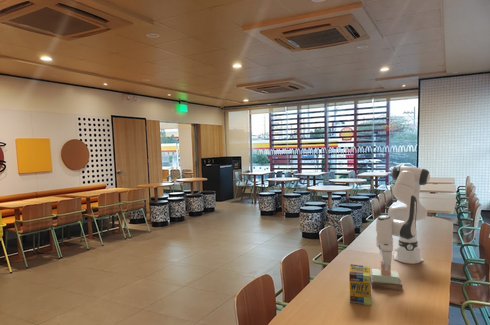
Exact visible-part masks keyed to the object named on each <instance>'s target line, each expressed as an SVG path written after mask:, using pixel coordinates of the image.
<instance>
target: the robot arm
mask: <svg viewBox="0 0 490 325" xmlns="http://www.w3.org/2000/svg"><path fill="white" fill-rule="evenodd" d="M391 177H392V179H393V180H394V181H395V183H394V186H393V189H392V193H393V197H394V198H395V199H396V200H397V201H399V202H401V203H403V204H402V205H401V204H400V205H399V204H398V205H392V206H391V207H389V208H388V210H387V214H382V215H378V216H377V217H376V221H375V222H376V224H375V232H376V237H375V238H376V239H375V242H376V247H377V248H378V249H379V256H380V257H381V261H383V263H384V265H385V270H386V271H388V267H389V265H391V266H392V257H393V260H394V261H398V262H401V263H404V264H410V265H411V264H413V265H414V264H419V263H421V262H422V263H423V262H424V259H423V258H422V255H421V249H420V248H419V242H418V232H417V222H418V221H423V220H425V219H426V218H427V217H428V210H427V208H426V207H425V206H424V205H423V204H422V203H421V202H420V192H421V186H425V185H427V184H428V183H429V182H430V180H431V174H430V171H429V170H428V169H426V168H421V167H417V166H416V167H415V166H409V165H402V164H399V165H398V164H397V165H395V166H394V167H393V168H392V170H391ZM393 236H394V237H397V238H398V246H397V247H395V248H394V237H393ZM393 251H395V252H394V254H393ZM392 255H393V256H392Z"/></svg>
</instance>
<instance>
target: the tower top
mask: <svg viewBox="0 0 490 325" xmlns="http://www.w3.org/2000/svg"><path fill="white" fill-rule="evenodd" d="M371 275H372V281H373V282H381V283H392V284H399V278H400V276H399V273H398V270H395V269H394V270H393V269H391V275H381V272H380V269H378V268H371Z"/></svg>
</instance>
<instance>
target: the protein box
mask: <svg viewBox="0 0 490 325" xmlns="http://www.w3.org/2000/svg"><path fill="white" fill-rule="evenodd" d="M348 274H349V278H348V279H349V302H350V303H351V304H358V305H359V304H360V305H366V306H372V290H371V289H372V286H371V280H370V275H371V266H370V265H361V264H352V263H351V264H350V266H349V273H348Z"/></svg>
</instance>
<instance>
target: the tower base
mask: <svg viewBox="0 0 490 325" xmlns="http://www.w3.org/2000/svg"><path fill="white" fill-rule="evenodd" d="M370 280H371V289H375V290H387V291H388V290H389V291H390V290H392V291H402V292H403V291H404V290H403V283H402V280H401V279H400V277H399V284H392V283H381V282H373V281H372V274H370Z"/></svg>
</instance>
